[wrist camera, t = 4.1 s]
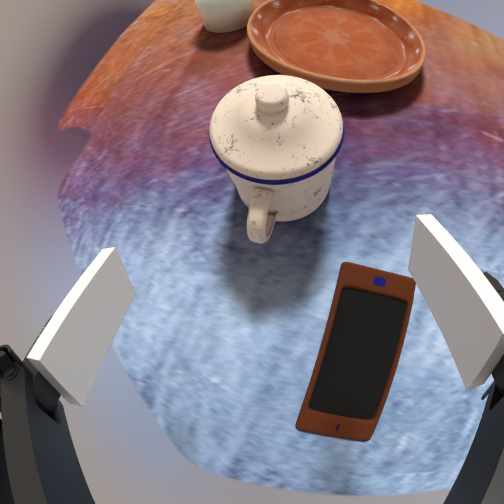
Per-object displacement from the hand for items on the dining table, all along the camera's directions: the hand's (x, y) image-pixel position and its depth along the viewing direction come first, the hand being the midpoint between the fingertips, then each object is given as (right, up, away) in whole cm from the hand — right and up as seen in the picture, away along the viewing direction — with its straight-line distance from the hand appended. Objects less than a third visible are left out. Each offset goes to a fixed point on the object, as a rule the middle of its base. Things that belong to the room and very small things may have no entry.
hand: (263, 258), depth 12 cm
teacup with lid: (+2, +6, +14) cm, 15 cm away
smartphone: (+9, -9, +11) cm, 16 cm away
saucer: (+11, +28, +18) cm, 35 cm away
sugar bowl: (-4, +35, +21) cm, 41 cm away
